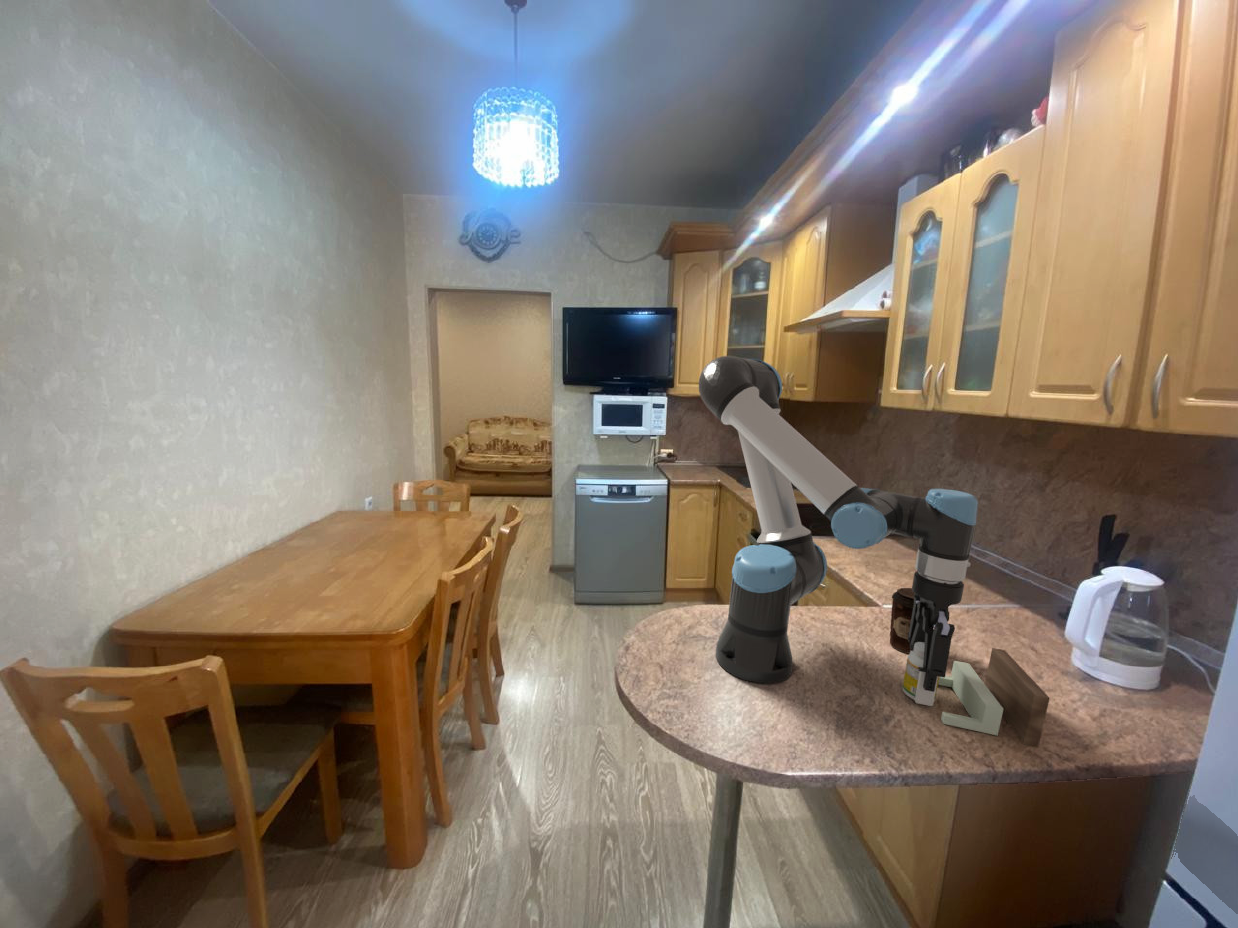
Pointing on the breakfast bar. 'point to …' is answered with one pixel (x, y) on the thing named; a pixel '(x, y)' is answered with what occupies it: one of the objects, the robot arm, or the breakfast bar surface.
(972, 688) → the slot block
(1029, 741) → the backstop wall
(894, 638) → the coffee cup
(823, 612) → the breakfast bar surface
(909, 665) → the supplement bottle
